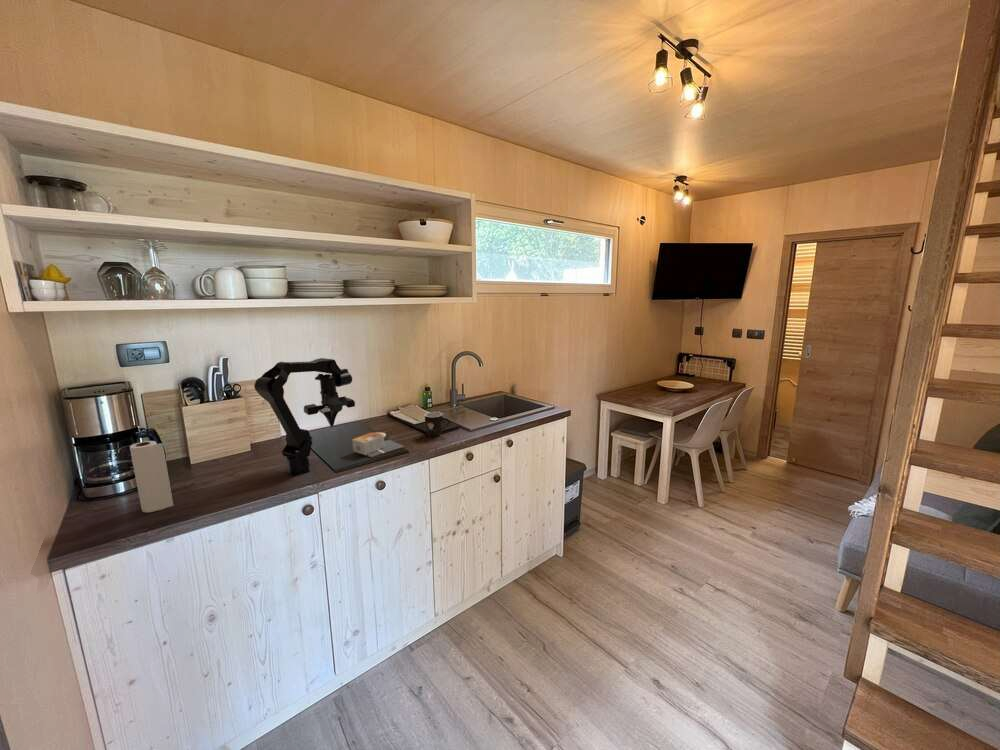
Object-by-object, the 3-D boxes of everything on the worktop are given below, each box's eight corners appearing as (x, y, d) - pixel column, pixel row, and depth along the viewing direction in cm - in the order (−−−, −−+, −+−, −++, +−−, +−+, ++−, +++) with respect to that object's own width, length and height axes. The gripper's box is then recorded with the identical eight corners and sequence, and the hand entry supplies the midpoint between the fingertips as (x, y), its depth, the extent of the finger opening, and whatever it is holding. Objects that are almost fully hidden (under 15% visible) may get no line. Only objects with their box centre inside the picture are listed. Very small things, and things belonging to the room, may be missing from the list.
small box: (351, 439, 168) (371, 431, 177) (352, 451, 169) (372, 443, 178) (364, 442, 164) (384, 434, 172) (365, 455, 165) (385, 447, 174)
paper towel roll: (137, 510, 124) (125, 445, 120) (160, 501, 129) (149, 439, 125) (151, 515, 121) (138, 449, 117) (173, 506, 126) (162, 442, 122)
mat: (370, 458, 164) (370, 456, 164) (356, 450, 172) (356, 448, 172) (404, 447, 175) (404, 446, 175) (389, 440, 183) (389, 439, 183)
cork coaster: (371, 441, 183) (371, 440, 183) (362, 436, 189) (362, 435, 189) (389, 436, 189) (389, 435, 189) (379, 431, 195) (379, 430, 195)
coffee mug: (421, 434, 191) (420, 414, 189) (435, 430, 198) (434, 410, 196) (437, 440, 184) (436, 419, 182) (451, 435, 190) (450, 415, 188)
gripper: (311, 396, 149) (314, 436, 152) (359, 389, 161) (362, 425, 164) (301, 391, 157) (305, 429, 160) (348, 384, 169) (350, 419, 172)
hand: (331, 426), depth 164 cm, fingers closed
